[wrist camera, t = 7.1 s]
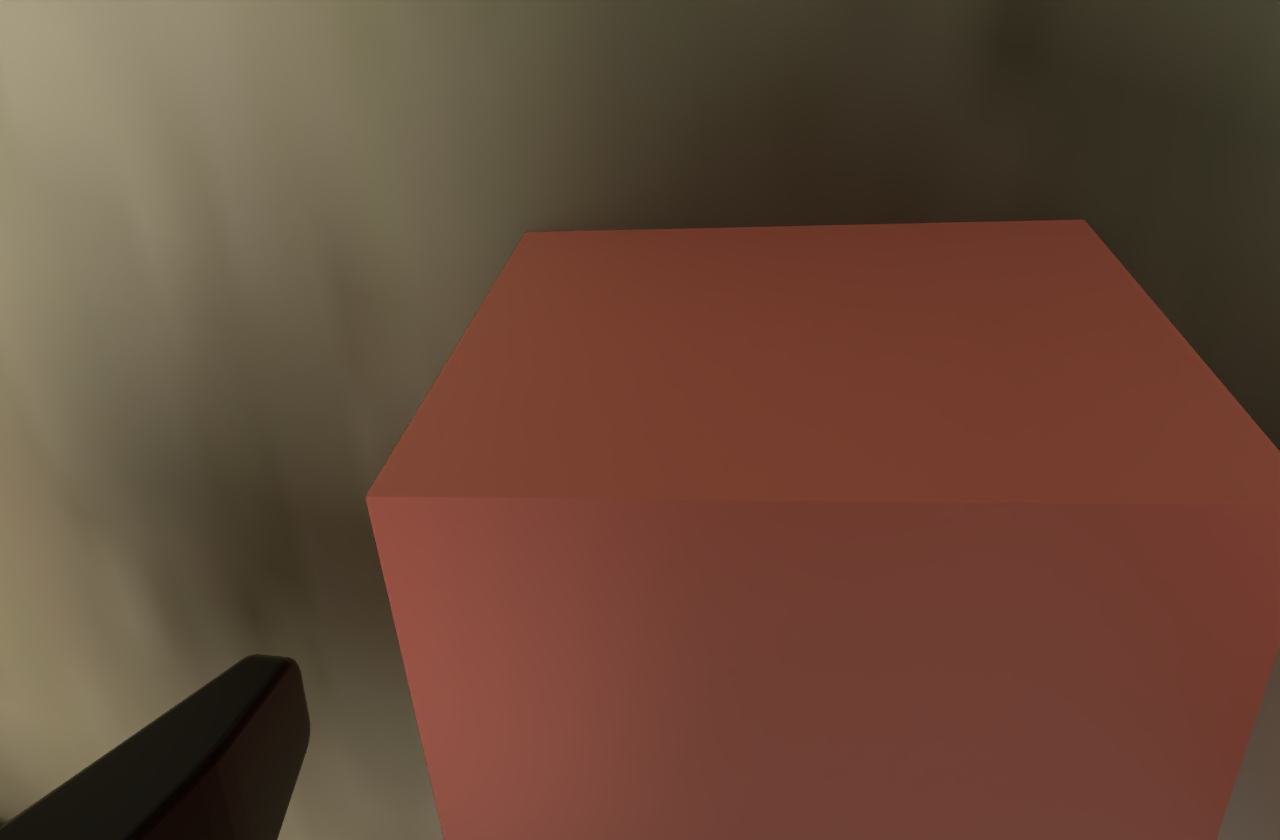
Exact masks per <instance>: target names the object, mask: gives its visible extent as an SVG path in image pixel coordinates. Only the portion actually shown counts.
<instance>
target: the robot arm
mask: <svg viewBox="0 0 1280 840" xmlns="http://www.w3.org/2000/svg"><path fill="white" fill-rule="evenodd" d="M309 737H310V719H309V713H308V708H307V703H306V697H305V692H304V687H303V681H302V676H301V671H300V668H299V665H298V664H297V662H296V661H295V660H294V659H292V658H289V657H281V656H271V655H260V654H255V655H250V656H248V657H246V658H244V659H242V660H241V661H239V662H238V663H236V664H235V665H233V666H232V667H231V668H229V669H228V670H226V671H225V672H223V673H222V674H220V675H219V676H218V677H216V678H215V679H213V680H212V681H210V682H209V683H207V684H206V685H205V686H203V687H202V688H200V689H199V690H197V691H196V692H194V693H193V694H192V695H190V696H189V697H187V698H186V699H184V700H183V701H182V702H180V703H179V704H177V705H176V706H174V707H173V708H171V709H170V710H169V711H167V712H166V713H164V714H163V715H161V716H160V717H158V718H157V719H156V720H154V721H153V722H151V723H150V724H148V725H147V726H145V727H144V728H143V729H141V730H140V731H138V732H137V733H135V734H134V735H133V736H131V737H130V738H128V739H127V740H125V741H124V742H122V743H121V744H120V745H118V746H117V747H115V748H114V749H112V750H111V751H109V752H108V753H107V754H105V755H104V756H102V757H101V758H99V759H98V760H96V761H95V762H94V763H92V764H91V765H89V766H88V767H86V768H85V769H83V770H82V771H81V772H79V773H78V774H76V775H75V776H73V777H72V778H71V779H69V780H68V781H66V782H65V783H63V784H62V785H60V786H59V787H58V788H56V789H55V790H53V791H52V792H50V793H49V794H47V795H46V796H45V797H43V798H42V799H40V800H39V801H37V802H36V803H34V804H33V805H32V806H30V807H29V808H27V809H26V810H24V811H23V812H21V813H20V814H19V815H17V816H16V817H14V818H13V819H11V820H10V821H9V822H7V823H6V824H4V825H3V826H1V827H0V840H277V839H278V836H279V833H280V830H281V827H282V823H283V820H284V817H285V814H286V811H287V808H288V805H289V802H290V799H291V796H292V793H293V790H294V787H295V784H296V781H297V778H298V775H299V772H300V769H301V766H302V763H303V760H304V757H305V754H306V751H307V747H308V743H309Z"/></svg>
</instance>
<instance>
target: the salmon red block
mask: <svg viewBox="0 0 1280 840" xmlns="http://www.w3.org/2000/svg"><path fill="white" fill-rule="evenodd" d="M365 498H366V502H367V507H368V511H369V515H370V520H371V524H372V528H373V533H374V537H375V542H376V546H377V550H378V555H379V559H380V563H381V568H382V572H383V576H384V581H385V585H386V589H387V594H388V598H389V602H390V607H391V611H392V615H393V620H394V624H395V628H396V633H397V637H398V641H399V646H400V650H401V654H402V659H403V663H404V667H405V672H406V676H407V681H408V685H409V689H410V694H411V698H412V702H413V707H414V711H415V715H416V720H417V724H418V728H419V733H420V737H421V741H422V746H423V750H424V754H425V759H426V763H427V767H428V772H429V776H430V780H431V785H432V789H433V793H434V798H435V802H436V806H437V811H438V815H439V820H440V824H441V828H442V833H443V837H444V840H1217V837H1218V834H1219V831H1220V828H1221V825H1222V822H1223V819H1224V816H1225V812H1226V809H1227V806H1228V803H1229V800H1230V797H1231V794H1232V791H1233V788H1234V785H1235V782H1236V779H1237V776H1238V773H1239V769H1240V766H1241V763H1242V760H1243V757H1244V754H1245V751H1246V748H1247V745H1248V742H1249V739H1250V736H1251V733H1252V730H1253V726H1254V723H1255V720H1256V717H1257V714H1258V711H1259V708H1260V705H1261V702H1262V699H1263V696H1264V693H1265V690H1266V687H1267V683H1268V680H1269V677H1270V674H1271V671H1272V668H1273V665H1274V662H1275V659H1276V656H1277V653H1278V650H1279V647H1280V451H1279V450H1278V449H1277V448H1276V446H1275V445H1274V444H1273V443H1272V442H1271V440H1270V439H1269V438H1268V437H1267V436H1266V434H1265V433H1264V432H1263V431H1262V430H1261V429H1260V427H1259V426H1258V425H1257V424H1256V423H1255V421H1254V420H1253V419H1252V418H1251V417H1250V416H1249V414H1248V413H1247V412H1246V411H1245V410H1244V408H1243V407H1242V406H1241V405H1240V404H1239V402H1238V401H1237V400H1236V399H1235V398H1234V397H1233V395H1232V394H1231V393H1230V392H1229V391H1228V389H1227V388H1226V387H1225V386H1224V385H1223V383H1222V382H1221V381H1220V380H1219V379H1218V378H1217V376H1216V375H1215V374H1214V373H1213V372H1212V370H1211V369H1210V368H1209V367H1208V366H1207V364H1206V363H1205V362H1204V361H1203V360H1202V359H1201V357H1200V356H1199V355H1198V354H1197V353H1196V351H1195V350H1194V349H1193V348H1192V347H1191V346H1190V344H1189V343H1188V342H1187V341H1186V340H1185V338H1184V337H1183V336H1182V335H1181V334H1180V332H1179V331H1178V330H1177V329H1176V328H1175V327H1174V325H1173V324H1172V323H1171V322H1170V321H1169V319H1168V318H1167V317H1166V316H1165V315H1164V313H1163V312H1162V311H1161V310H1160V309H1159V308H1158V306H1157V305H1156V304H1155V303H1154V302H1153V300H1152V299H1151V298H1150V297H1149V296H1148V295H1147V293H1146V292H1145V291H1144V290H1143V289H1142V287H1141V286H1140V285H1139V284H1138V283H1137V281H1136V280H1135V279H1134V278H1133V277H1132V276H1131V274H1130V273H1129V272H1128V271H1127V270H1126V268H1125V267H1124V266H1123V265H1122V264H1121V262H1120V261H1119V260H1118V259H1117V258H1116V257H1115V255H1114V254H1113V253H1112V252H1111V251H1110V249H1109V248H1108V247H1107V246H1106V245H1105V243H1104V242H1103V241H1102V240H1101V239H1100V238H1099V236H1098V235H1097V234H1096V233H1095V232H1094V230H1093V229H1092V228H1091V227H1090V226H1089V225H1088V223H1087V222H1086V221H1085V220H1084V219H1083V220H1038V221H994V222H950V223H905V224H861V225H816V226H772V227H728V228H683V229H639V230H595V231H550V232H525V234H524V235H523V237H522V239H521V240H520V242H519V244H518V245H517V247H516V249H515V250H514V252H513V254H512V255H511V257H510V259H509V260H508V262H507V263H506V265H505V267H504V268H503V270H502V272H501V273H500V275H499V277H498V278H497V280H496V282H495V283H494V285H493V287H492V288H491V290H490V292H489V293H488V295H487V296H486V298H485V300H484V301H483V303H482V305H481V306H480V308H479V310H478V311H477V313H476V315H475V316H474V318H473V320H472V321H471V323H470V325H469V326H468V328H467V329H466V331H465V333H464V334H463V336H462V338H461V339H460V341H459V343H458V344H457V346H456V348H455V349H454V351H453V353H452V354H451V356H450V358H449V359H448V361H447V362H446V364H445V366H444V367H443V369H442V371H441V372H440V374H439V376H438V377H437V379H436V381H435V382H434V384H433V386H432V387H431V389H430V391H429V392H428V394H427V395H426V397H425V399H424V400H423V402H422V404H421V405H420V407H419V409H418V410H417V412H416V414H415V415H414V417H413V419H412V420H411V422H410V424H409V425H408V427H407V428H406V430H405V432H404V433H403V435H402V437H401V438H400V440H399V442H398V443H397V445H396V447H395V448H394V450H393V452H392V453H391V455H390V457H389V458H388V460H387V461H386V463H385V465H384V466H383V468H382V470H381V471H380V473H379V475H378V476H377V478H376V480H375V481H374V483H373V485H372V486H371V488H370V490H369V491H368V493H367V494H366V496H365Z"/></svg>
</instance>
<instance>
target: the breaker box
mask: <svg viewBox="0 0 1280 840" xmlns="http://www.w3.org/2000/svg"><path fill="white" fill-rule="evenodd" d="M1217 840H1280V647H1279V650H1278V653H1277V656H1276V659H1275V662H1274V665H1273V668H1272V671H1271V674H1270V677H1269V680H1268V683H1267V687H1266V690H1265V693H1264V696H1263V699H1262V702H1261V705H1260V708H1259V711H1258V714H1257V717H1256V720H1255V723H1254V726H1253V730H1252V733H1251V736H1250V739H1249V742H1248V745H1247V748H1246V751H1245V754H1244V757H1243V760H1242V763H1241V766H1240V769H1239V773H1238V776H1237V779H1236V782H1235V785H1234V788H1233V791H1232V794H1231V797H1230V800H1229V803H1228V806H1227V809H1226V812H1225V816H1224V819H1223V822H1222V825H1221V828H1220V831H1219V834H1218V837H1217Z"/></svg>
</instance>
